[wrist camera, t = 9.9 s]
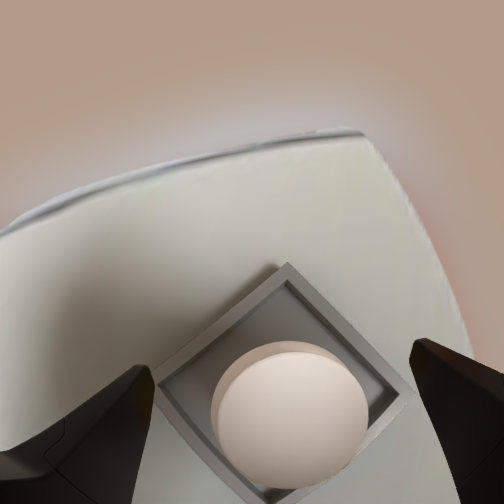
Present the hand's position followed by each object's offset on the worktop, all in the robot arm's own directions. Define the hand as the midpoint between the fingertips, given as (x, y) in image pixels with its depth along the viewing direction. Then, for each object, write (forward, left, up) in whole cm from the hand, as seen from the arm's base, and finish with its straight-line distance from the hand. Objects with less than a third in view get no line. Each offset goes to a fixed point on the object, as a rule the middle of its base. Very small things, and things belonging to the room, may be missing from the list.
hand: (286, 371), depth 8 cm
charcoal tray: (-1, -1, -9) cm, 9 cm away
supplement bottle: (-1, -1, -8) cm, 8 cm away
